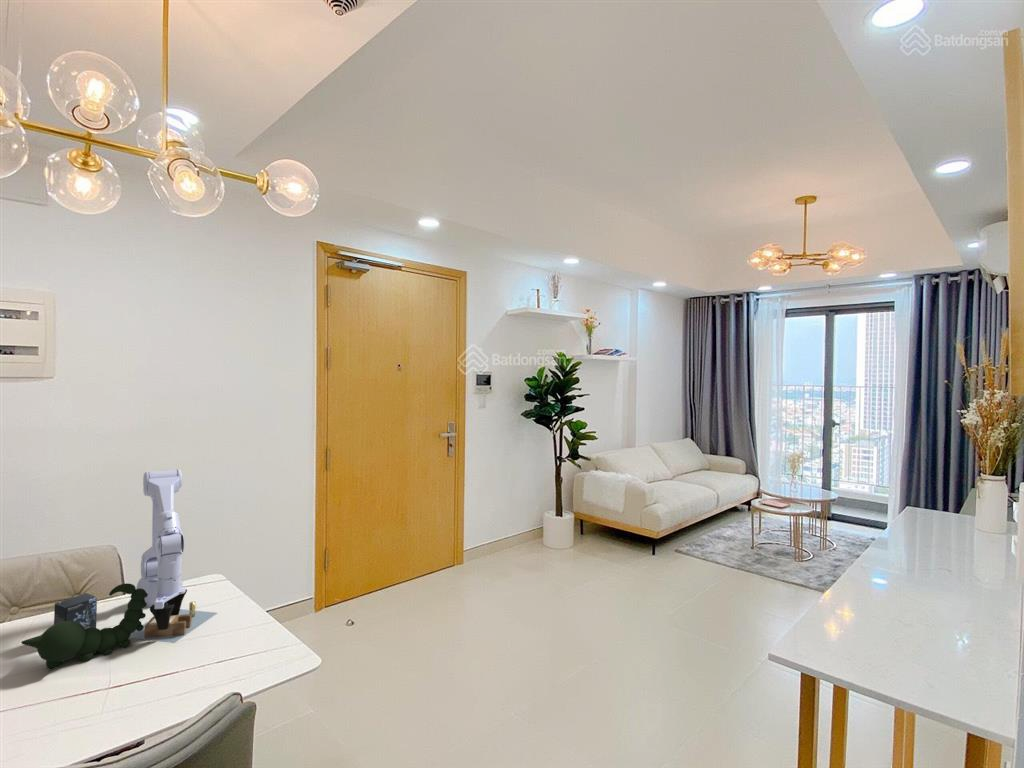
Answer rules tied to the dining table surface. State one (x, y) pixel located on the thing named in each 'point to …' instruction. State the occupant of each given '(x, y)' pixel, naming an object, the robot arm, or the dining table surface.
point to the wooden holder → (174, 629)
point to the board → (195, 622)
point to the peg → (192, 608)
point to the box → (77, 610)
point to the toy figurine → (90, 633)
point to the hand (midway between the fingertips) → (168, 622)
